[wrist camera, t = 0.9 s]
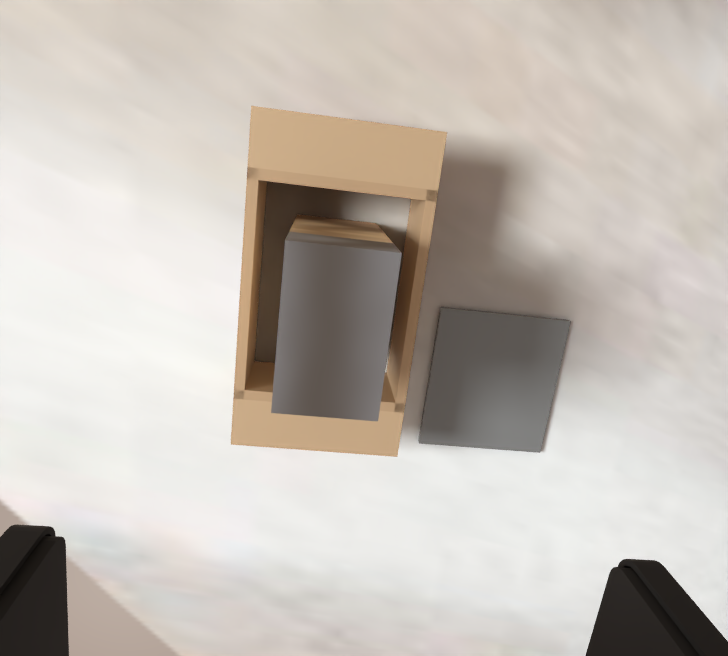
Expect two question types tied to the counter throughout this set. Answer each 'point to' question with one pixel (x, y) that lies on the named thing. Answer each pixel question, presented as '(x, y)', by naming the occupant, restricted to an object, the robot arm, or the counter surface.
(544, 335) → the mat
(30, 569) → the robot arm
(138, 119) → the counter surface
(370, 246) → the block
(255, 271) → the carton
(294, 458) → the counter surface
